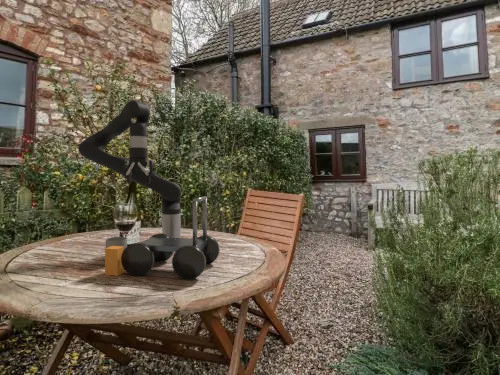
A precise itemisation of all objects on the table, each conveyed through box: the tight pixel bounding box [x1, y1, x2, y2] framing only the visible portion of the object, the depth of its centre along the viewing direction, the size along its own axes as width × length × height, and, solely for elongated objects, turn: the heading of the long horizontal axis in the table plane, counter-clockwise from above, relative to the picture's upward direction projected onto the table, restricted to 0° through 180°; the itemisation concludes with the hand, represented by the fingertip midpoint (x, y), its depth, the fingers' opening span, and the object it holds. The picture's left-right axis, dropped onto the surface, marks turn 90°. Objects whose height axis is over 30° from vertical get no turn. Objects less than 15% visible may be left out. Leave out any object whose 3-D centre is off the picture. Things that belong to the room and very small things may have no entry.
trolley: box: [121, 195, 221, 281], centre depth 127 cm, size 32×21×29 cm
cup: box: [105, 236, 128, 249], centre depth 137 cm, size 8×8×10 cm
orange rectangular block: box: [104, 246, 125, 277], centre depth 122 cm, size 5×4×10 cm
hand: (138, 183), depth 143 cm, fingers open, 8 cm apart
